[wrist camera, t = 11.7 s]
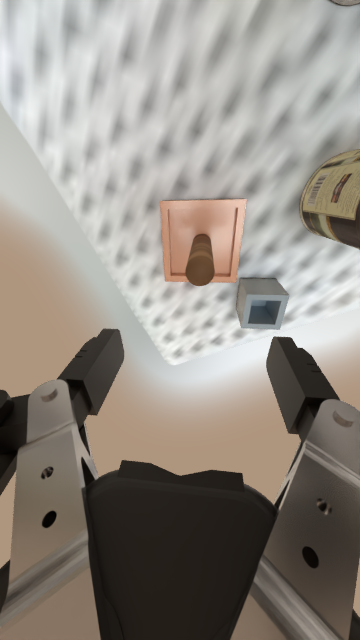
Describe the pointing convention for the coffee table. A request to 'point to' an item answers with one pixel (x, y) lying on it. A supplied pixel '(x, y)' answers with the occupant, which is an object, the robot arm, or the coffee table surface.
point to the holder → (261, 303)
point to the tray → (202, 218)
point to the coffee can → (334, 200)
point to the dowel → (200, 261)
